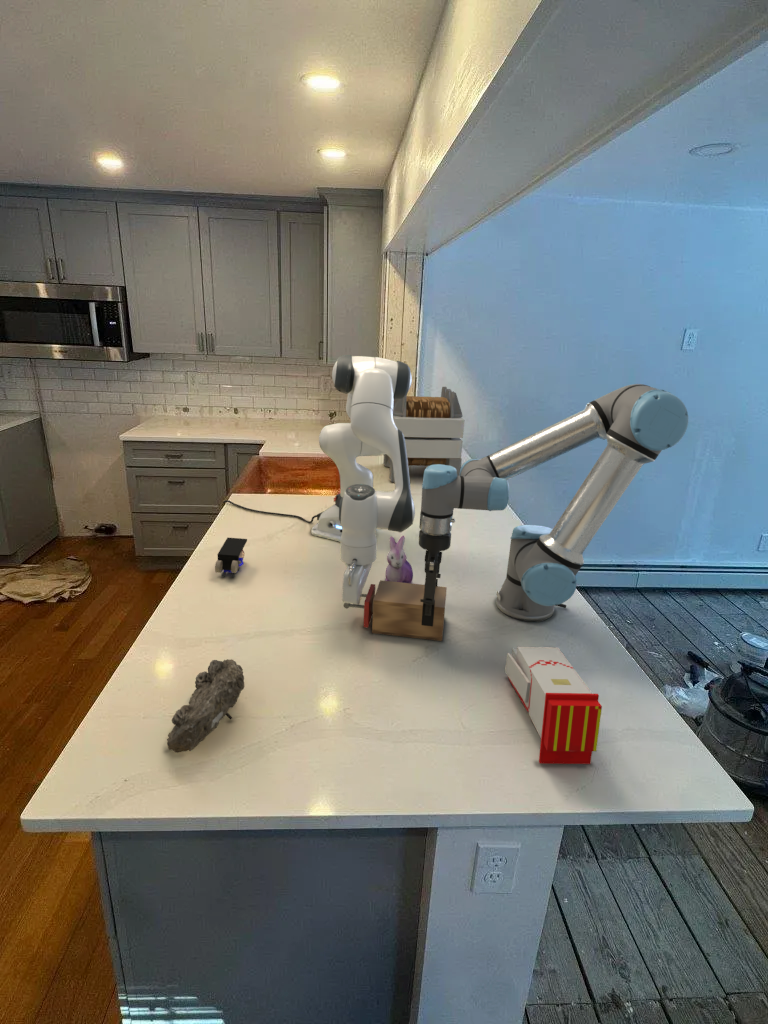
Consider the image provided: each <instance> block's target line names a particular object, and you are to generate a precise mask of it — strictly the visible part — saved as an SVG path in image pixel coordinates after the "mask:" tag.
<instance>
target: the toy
mask: <svg viewBox="0 0 768 1024" xmlns="http://www.w3.org/2000/svg"><path fill="white" fill-rule="evenodd" d="M505 659H506V660H505V667H504V673H505V674H506V676H507V679H508V681H509V682H510V685H511V686H512V688H513V689H514V691H515V693H516V694H517V696H518V698H519V700H520V701H521V703H522V705H523V706H524V708H525V710H526V711H527V713H528V716H529V718H530V720H531V722H532V723H533V726H534V728H535V729H536V732H537V733H538V735H539V737H540V746H539V755H538V764H542V765H543V764H545V765H547V764H549V765H554V764H556V765H591V763H592V756H593V752H597V750H598V749H597V748H598V741H599V732H600V725H601V717H602V708H603V706H602V704H601V703H600V701H599V697H600V694H599V693H593V692H592V690H590V688H589V687H588V685H587V684H586V683H585V681H583V679H582V678H581V676H580V675H579V673H578V672H577V670H576V669H575V668H574V667H573V665H572V664H571V662H569V660H568V659H567V657H566V656H565V653H563V652H562V651H561V649H560V648H559V647H550V646H549V647H548V646H547V647H545V646H517V647H511V653H510V652H507V653H506V658H505Z"/></svg>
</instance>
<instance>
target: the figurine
mask: <svg viewBox="0 0 768 1024" xmlns="http://www.w3.org/2000/svg"><path fill="white" fill-rule="evenodd" d="M388 539H389V541H388V543H389V551H388V552H387V555H386V562H387V563H388V564H387V566H386V568H385V573H384V575H385V578H384V581H392V582H402V583H412V584H413V579H414V571H413V568H412V564H411V563H410V562H409V561H408V560H407V554H406V552H405V550H404V546H405V542H406V536H405V535H402V536H400V538H399V539H398V541H397V542H396V540H395V538H394V536H392V535H391V536H389V538H388Z"/></svg>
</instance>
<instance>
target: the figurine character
mask: <svg viewBox="0 0 768 1024" xmlns="http://www.w3.org/2000/svg"><path fill="white" fill-rule="evenodd" d="M247 542H248V538H240V537H226V539H225V541H224V543H223V544H222V546H221V547H220V549H219V551H218V552H217V560H216V562H215V564H214V572H215V573H221V577H222V578H224V577H225V576H226V574H227V573H230V574H231V573H232V574H231V578H234V577H235V575H236V573H237V572H239V571H240V567H242V566H243V565H244V564H245V562H244V558H245V551H244V547H245V546H246V544H247Z"/></svg>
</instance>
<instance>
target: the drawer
mask: <svg viewBox="0 0 768 1024" xmlns="http://www.w3.org/2000/svg"><path fill="white" fill-rule="evenodd" d="M375 594H376V583H375V584H374V583H371V584H370V585H369V588H368V591H367V593H362V598H365V599H364V601H363V604H359V605H356V604H349V603H344V602H343V608H344V609H346V610H347V609H349V608H355V609H363V628H366V629H367V628H369V627H370V624H371V621H372V619H373V600H374V597H375Z"/></svg>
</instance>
